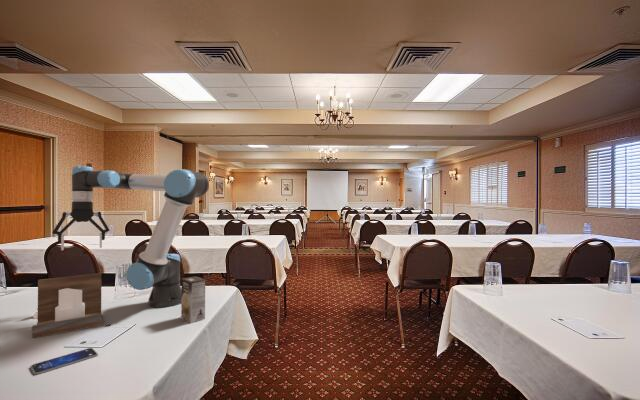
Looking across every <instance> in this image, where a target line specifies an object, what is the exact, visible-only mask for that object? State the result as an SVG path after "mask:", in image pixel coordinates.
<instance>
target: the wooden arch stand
mask: <svg viewBox="0 0 640 400" xmlns="http://www.w3.org/2000/svg"><path fill="white" fill-rule="evenodd" d="M65 288H70V289H78V290H82V302H83V303H85V317H81V318H75V319H69V320H63V321H57V322H55V308H56V307H57V306H59V290H61V289H65ZM37 308H38V310H37V312H38V319H37V322H36V324H35V325H32V326H31V329H32V331H31V338H32V339H33V338H34V339H35V338H39V337H45V336H49V335H55V334H63V333H68V332H72V331H77V330H83V329H89V328H95V327H100V326H102V325H103V324H102V323H103V318H102V317H103V314H102V272H101V273H100V272H99V273H89V274H82V275H80V274H79V275H71V276H70V275H69V276H62V277H54V278H42V279H37Z"/></svg>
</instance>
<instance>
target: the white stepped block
mask: <svg viewBox="0 0 640 400" xmlns="http://www.w3.org/2000/svg"><path fill="white" fill-rule="evenodd" d="M81 317H85V303H83V302H82V290H78V289H70V288H65V289H61V290H59V306H57V307H56V308H55V322H57V321H63V320H69V319H75V318H81Z"/></svg>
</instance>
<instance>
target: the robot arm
mask: <svg viewBox="0 0 640 400" xmlns="http://www.w3.org/2000/svg"><path fill="white" fill-rule="evenodd" d="M95 188H99V189H101V188H103V189H104V188H105V189H120V190H129V191H130V190H139V191H153V192H164V194H163V196H164V198H165V201H164V205H163V207H162V210H161V211H160V214H159V217H158V219H157V222H156V224H155V226H154V228H153V229H154V230H153V231H152V234H151V236H150V239H149V241H148V242H147V246H146V248H145V250H144V251H142V252H140V253H139V255H138V257H137V259H136V262H134V263H131V264H130V265H129V266H128V268H127V269H126V272H125V277H126V281H127V283H128V285H129V286H131V288H133V289H135V290H138V291H143V290H149V289H150V288H151V291H150V294H149V297H148V302H147V303H148V306H149V307H153V308H165V307H166V306H167V307H172V305H173V306H176V305H175V304H177V305H179V304H181V290H182V285H181V255H180V254H178V253H169V250H170V249H171V245H172V243H173V240H174V239H175V236H176V234H177V231H178V229H179V227H180V224H181V223H182V222H181V221H182V220H183V217H184V214H185V213H186V210H187V208H188V207H191V206H192V205H193V203H194V201H195V199H196V198H201V197H203V196H205V195H206V194H207V192H208V191H209V189H210V182H209V179H208V177H207V176H206V175H205V174H204V173H201V172H199V171H194V170H189V169H184V168H181V169H180V168H177V169H174V170H171V171H170V172H169V173H167V175H166V174H165V175H161V174H146V173H145V174H141V173H123V172H117V171H116V170H108V169H107V170H94V167H92V166H87V165H86V166H85V165H82V166H81V165H76V166H73V167H72V173H71V200H72V201H71V212H67V211H64V212H62V214H61V218H60V220H59V221H58V223H57V224H56V226H55V227H54V229H53V231H52V234H53V235H57V243H59V244H61V245H60V250H61V251H64V250H65V235H64V233H65V231H67V230H68V228H69V227H70V226H71V225H73V224H74V223H75V222H76V223H82V222H83V223H87V222H90V223H91V224H92V225H93V226H94V227H96V229H98V230H99V249H101V248H102V247H103V243H102V241H105V239H106V233H108V232H110V230H111V229H110V228H109V226H108V224H107V223H106V222H105V220H104V218H103V216H102V212H101V211H96V212H94V210H93V209H94V205H93V204H94V202H93V199H94V189H95ZM69 216H71V218H72V219H71V220H70V221H69V222H68V223H67V224H66V225H65V226H64V227H63V228H62V229H60V228H61V227H62V224H63V223H64V221H65V220H66V218H68V217H69ZM93 216H96V217H98V219H99V221H100V222H101V224H102V226H103V228H102V227H101V225H99V224H98V223H97V222H95V220H94V219H93ZM59 229H60V230H59ZM178 303H179V304H178Z"/></svg>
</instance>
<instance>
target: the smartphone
mask: <svg viewBox="0 0 640 400" xmlns="http://www.w3.org/2000/svg"><path fill="white" fill-rule="evenodd" d="M96 357H99V353H98V352H97V351H96V350H95V349H94V348H92V347H89V348H86V349H82V350H79V351H75V352H72V353H69V354H68V353H67V354H64V355H61V356H58V357H54V358H51V359H47V360H44V361H40V362H36V363H34V364H32V365H30V366H29V370H30V371H31V373H32V375H33V376H38V375H42V374H46V373H49V372H52V371H55V370H59V369H61V368H64V367H68V366H71V365H75V364H76V363H80V362H84V361H87V360H90V359H93V358H96Z"/></svg>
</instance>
